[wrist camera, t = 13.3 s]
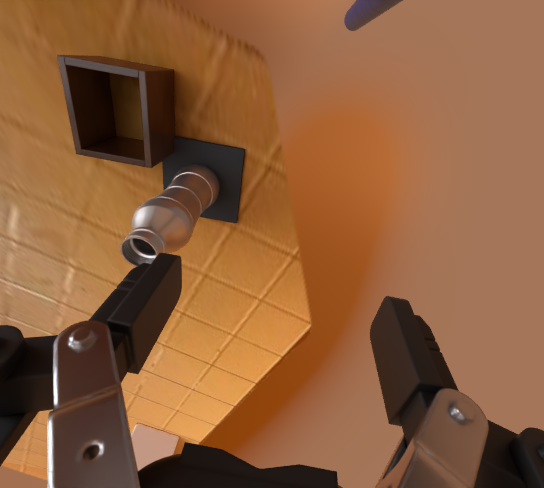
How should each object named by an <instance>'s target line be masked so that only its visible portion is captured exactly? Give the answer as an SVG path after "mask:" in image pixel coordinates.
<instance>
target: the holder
mask: <svg viewBox="0 0 544 488" xmlns="http://www.w3.org/2000/svg"><path fill="white" fill-rule="evenodd" d="M57 58H58V63H59V68H60V74H61V79H62V84H63V89H64V94H65V99H66V104H67V109H68V114H69V119H70V125H71V130H72V135H73V140H74V145H75V150H76V154H79V155H84V156H89V157H94V158H100V159H105V160H111V161H116V162H121V163H127V164H132V165H137V166H143V167H149V168H152V167H154V166H155V165H157V164H158V163H159V162H161V161H162V160H164V159H165V158H167V157H168V156H170V155H171V154H173V153H174V136H175V110H174V70H173V69H167V68H162V67H157V66H151V65H146V64H140V63H135V62H130V61H124V60H119V59H113V58H108V57H102V56H77V55H57ZM109 73H113V74H118V75H124V76H129V77H134V78H139V85H140V98H141V112H142V125H143V139H144V141H142V140H137V139H132V138H126V137H121V136H116V131H115V123H114V115H113V106H112V98H111V90H110V81H109Z"/></svg>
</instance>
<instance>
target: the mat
mask: <svg viewBox="0 0 544 488" xmlns="http://www.w3.org/2000/svg"><path fill="white" fill-rule="evenodd" d="M244 153H245V149H242V148H237V147H231V146H226V145H221V144H215V143H210V142H205V141H199V140H194V139H188V138H183V137H178V136H174V153H173V154H171V155H170V156H168V157H167V158H165V159H164V160H162V161H163V184H164V190H165V189H167V188H168V186H169V185H170V184H171V183H172V180H173V178H174V177H175V175H176V174H177V172H178V171H179V170H181V169H182V168H184V167H187V166H189V165H194V164H197V165H203V166H205V167H207V168H209V169H210V170H212V171H213V172H214V173H215V175H216V176H217V178H218V181H219V193H218V197H217V199H216V200H215V202H214V203H213V204H212V205H210V206H209V207H208V208H206V209H205V210H204V211H203V212H202V213H201V215H200V216H199V217H205V218H210V219H216V220H221V221H226V222H232V223H237V220H238V210H239V201H240V191H241V182H242V172H243V163H244Z"/></svg>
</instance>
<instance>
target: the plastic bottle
mask: <svg viewBox="0 0 544 488" xmlns="http://www.w3.org/2000/svg"><path fill="white" fill-rule="evenodd" d="M218 193H219V181H218V178H217V176H216V175H215V173H214V172H213V171H212V170H210V169H209V168H207V167H205V166H203V165H197V164H194V165H189V166H187V167H184V168H182V169H181V170H179V171H178V172H177V174H176V175H175V177H174V178H173V180H172V183H171V184H170V185H169V186H168V188H167V189H165V190H164V191H163V192H161V193H160V194H158V195H157V196H155V197H153V198H151V199H149V200H147V201H146V202H144V203H143V204H141V205H140V206H139V207H138V208H137V209H136V211H135V213H134V216H133V218H132V231H131V232H130V233H129V234H128V236H127V237H126V238H125V239H124V240H123V242H122V243H121V246H120V251H121V254H122V256H123V257H124V259H125V260H126V261H127V262H128V263H130V264H131V265H133V266H136V267H137V266H139V265H141V264H142V263H148V264H151V263H152V262H153V260H154V259H155V258H156V256H157V255H158V254H159V253H172V252H175V251H177V250H179V249H181V248H182V247H184V246H185V245H186V244H187V243H188V242H189V240H190V238H191V236H192V233H193V230H194V228H195V225H196V222H197V220H198V218H199V216H200V215H201V213H202V212H203V211H204V210H205V209H206V208H208V207H209V206H210V205H212V204H213V203H214V202H215V200H216V199H217V197H218Z"/></svg>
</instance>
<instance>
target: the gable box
mask: <svg viewBox="0 0 544 488" xmlns="http://www.w3.org/2000/svg"><path fill="white" fill-rule="evenodd" d="M131 438H132V443H133V448H134V453H135V458H136V463H137V468H138V471H139V470H140V469H142V468H143V467H145V466H146V465H148V464H150V463H152V462H154V461H156V460H159V459H161V458H164V457H167V456H171V455H173V454H174V451H175V448H176V445H177V442H178V439H179V436H176V435H173V434H170V433H167V432H164V431H161V430H158V429H155V428H152V427H149V426H146V425H143V424H140V423H137V424H136V426H135V428H134V430H133V432H132V434H131Z"/></svg>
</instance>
